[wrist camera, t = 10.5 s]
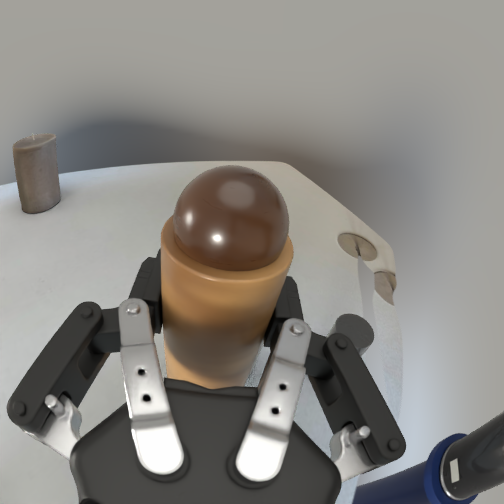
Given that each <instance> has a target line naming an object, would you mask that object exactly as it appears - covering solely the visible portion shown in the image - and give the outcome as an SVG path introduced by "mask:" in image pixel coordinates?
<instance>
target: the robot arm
mask: <svg viewBox="0 0 504 504" xmlns="http://www.w3.org/2000/svg"><path fill="white" fill-rule="evenodd" d="M162 324H163V317H162V294H161V249H159V251H158V254H157V257H156V258H152V257H148V258H147V259H146V260H145V261H144V262H143V263H142V265H141V267H140V269H139V272H138V274H137V277H136V280H135V282H134V285H133V287H132V290H131V292H130V295H129V298H128V299H127V300H125V301H123V302H122V303H121V304H120V306H119V307H117V308H113V309H102V310H101V308H100V306H99V305H98V304H96V303H94V302H83V303H81V304H79V305H78V306H77V307H76V308H75V309H74V310H73V312H72V313H71V314H70V315H69V317H68V318H67V319H66V320H65V322H64V323H63V324H62V325H61V327H60V328H59V329H58V331H57V332H56V333H55V334H54V336H53V337H52V338H51V340H50V341H49V342H48V344H47V345H46V346H45V348H44V349H43V350H42V352H41V353H40V355H39V356H38V357H37V359H36V360H35V362H34V363H33V364H32V366H31V367H30V369H29V370H28V372H27V373H26V375H25V376H24V377H23V379H22V380H21V382H20V383H19V385H18V387H17V388H16V390H15V391H14V393H13V394H12V396H11V397H10V399H9V401H8V404H7V413H8V416H9V418H10V419H11V421H12V422H13V423H15V424H16V425H17V426H19V427H20V428H21V429H22V430H23V431H24V432H25V433H27V434H28V435H30V436H31V437H33V438H34V439H36V440H38V441H40V442H41V443H43V444H45V445H47V446H49V447H50V448H52V449H53V450H55V451H56V452H57V453H59V454H60V455H62V456H63V457H65V458H66V459H68V460H69V461H70V469H71V472H72V475H73V477H74V480H75V483H76V486H77V490H78V496H79V504H335V501H336V499H337V497H338V495H339V492H340V490H341V484H342V482H345V481H347V480H349V479H351V478H353V477H355V476H358V475H360V474H364V473H366V472H369V471H371V470H374V469H376V468H379V467H381V466H383V465H386V464H388V463H390V462H392V461H394V460H397V459H399V458H400V457H401V456H402V455H403V454H404V452H405V450H406V442H405V439H404V437H403V435H402V433H401V431H400V429H399V427H398V425H397V423H396V421H395V419H394V417H393V415H392V414H391V412H390V410H389V408H388V406H387V404H386V402H385V400H384V398H383V396H382V395H381V393H380V391H379V389H378V387H377V385H376V384H375V382H374V380H373V378H372V376H371V374H370V373H369V371H368V369H367V367H366V365H365V363H364V362H363V360H362V358H361V356H360V354H359V353H358V351H357V349H356V347H355V346H354V344H353V342H352V341H351V339H350V338H349V337H348V336H346V335H344V334H341V333H333V334H331V335H330V336H329V337H328V338H327V337H324V336H321V335H319V334H316V333H314V332H312V331H311V328H310V327H309V325H308V324H307V323H306V322H304V319H303V314H302V309H301V304H300V299H299V294H298V289H297V284H296V283H295V281H294V280H293V278H292V277H290V276H286V279H285V282H284V284H283V287H282V290H281V293H280V295H279V298H278V301H277V303H276V306H275V309H274V311H273V314H272V317H271V319H270V322H269V325H268V327H267V330H266V332H265V335H264V338H263V340H264V347H270V350H271V353H270V355H269V357H268V360H267V363H266V366H265V368H264V371H263V374H262V377H261V379H260V382H259V385H258V387H243V386H232V387H225V388H217V389H209V388H206V387H203V386H200V385H197V384H194V383H192V382H189V381H185V380H178V379H171V378H165V377H164V382H163V378H162V374H161V369H160V365H159V360H158V355H157V350H156V345H155V343H154V334H155V333H158V334H160V333H161V328H162ZM112 352H120V353H121V362H122V370H123V378H124V384H125V391H126V397H127V402H126V403H125V404H123V405H122V406H121V407H120V408H118V409H117V410H116V411H115V412H113V413H112V414H111V415H110V416H108V417H107V418H106V419H105V420H103V421H102V422H101V423H100V424H98V425H97V426H96V427H95V428H93V429H92V430H91V431H90V432H88V433H87V434H86V435H84V436H83V437H82V438H81V437H80V433H79V429H80V425H81V422H82V417H81V413H80V411H79V410H78V409H77V408H78V406H79V405H80V403H81V401H82V400H83V398H84V396H85V394H86V393H87V391H88V389H89V388H90V386H91V384H92V383H93V381H94V379H95V378H96V376H97V374H98V373H99V371H100V369H101V368H102V366H103V365H104V363H105V361H106V360H107V358H108V357H109V355H110V353H112ZM305 374H306V375H308V377H309V380H310V382H311V384H312V387H313V389H314V391H315V393H316V396H317V398H318V400H319V403H320V405H321V407H322V409H323V412H324V414H325V416H326V418H327V421H328V423H329V425H330V428H331V430H332V432H333V434H334V435H333V436H332V438H331V440H330V450H331V457H330V458H329V457H328V456H327V455H326V454H325V453H324V452H323V451H322V450H321V449H320V448H319V447H318V446H317V445H316V444H315V443H314V442H313V441H312V440H311V439H310V438H309V437H308V436H307V435H306V433H305V432H304V431H303V430H302V429H301V428H300V427H299V426H298V425H297V424H296V423H295V422H294V421H293V419H294V415H295V412H296V408H297V404H298V400H299V397H300V393H301V389H302V385H303V381H304V377H305ZM439 482H440V486H441V489H442V491H443V492H444V494H445V495H446V496H447V497H448V498H450V499H452V500H455V501H460V500H464V499H467V498H469V497H471V496H473V495H476V494H478V493H481V492H483V491H486V490H488V489H491V488H493V487H495V486H498V485H500V484H502V483H504V411H503V412H502V413H500V414H499V415H497V416H496V417H495V418H493V419H492V420H490V421H489V422H488V423H486V424H484V425H483V426H481V427H480V428H478V429H477V430H475V431H473V432H472V433H470V434H469V435H467V436H465V437H464V438H462V439H460V440H457V441H456V442H454V443H452V444H451V445H450V446H449V447H448V448H447V449H446V450H445V452H444V453H443V455H442V458H441V461H440V465H439Z"/></svg>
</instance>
